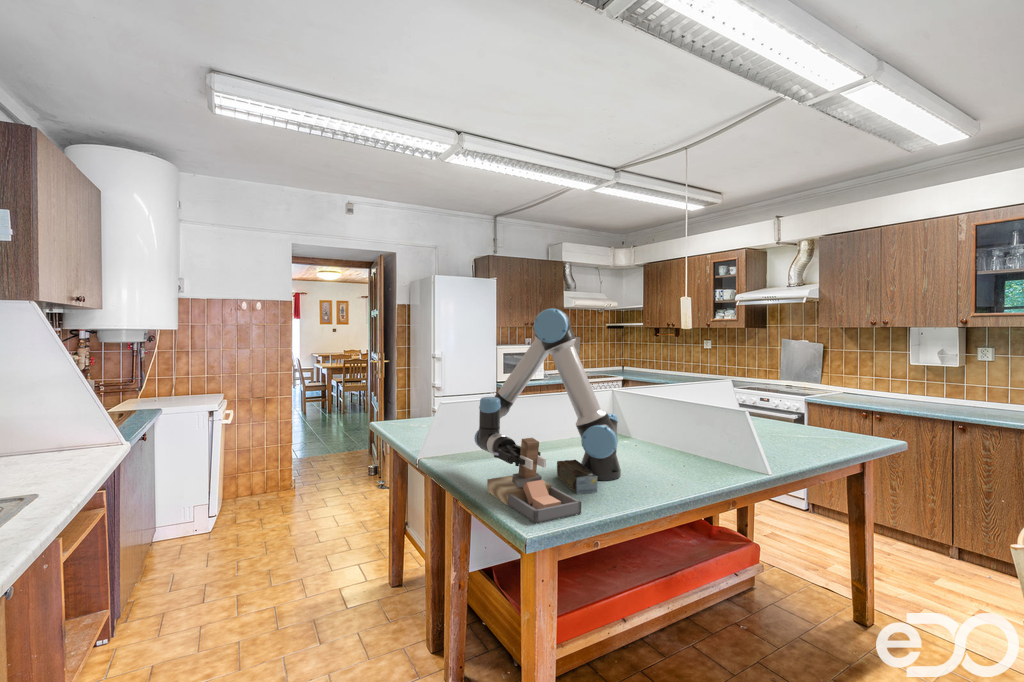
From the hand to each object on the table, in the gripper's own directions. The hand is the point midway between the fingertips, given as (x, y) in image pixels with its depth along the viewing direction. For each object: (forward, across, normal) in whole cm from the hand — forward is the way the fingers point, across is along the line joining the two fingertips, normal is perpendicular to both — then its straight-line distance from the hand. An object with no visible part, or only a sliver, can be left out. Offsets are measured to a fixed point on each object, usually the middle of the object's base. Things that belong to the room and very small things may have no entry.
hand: (538, 464), depth 144 cm
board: (-11, 0, -13) cm, 17 cm away
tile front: (+5, 0, -9) cm, 11 cm away
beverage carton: (-11, -23, -13) cm, 29 cm away
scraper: (-7, 0, -8) cm, 10 cm away
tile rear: (-2, 0, -10) cm, 10 cm away
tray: (+4, 0, -13) cm, 13 cm away
